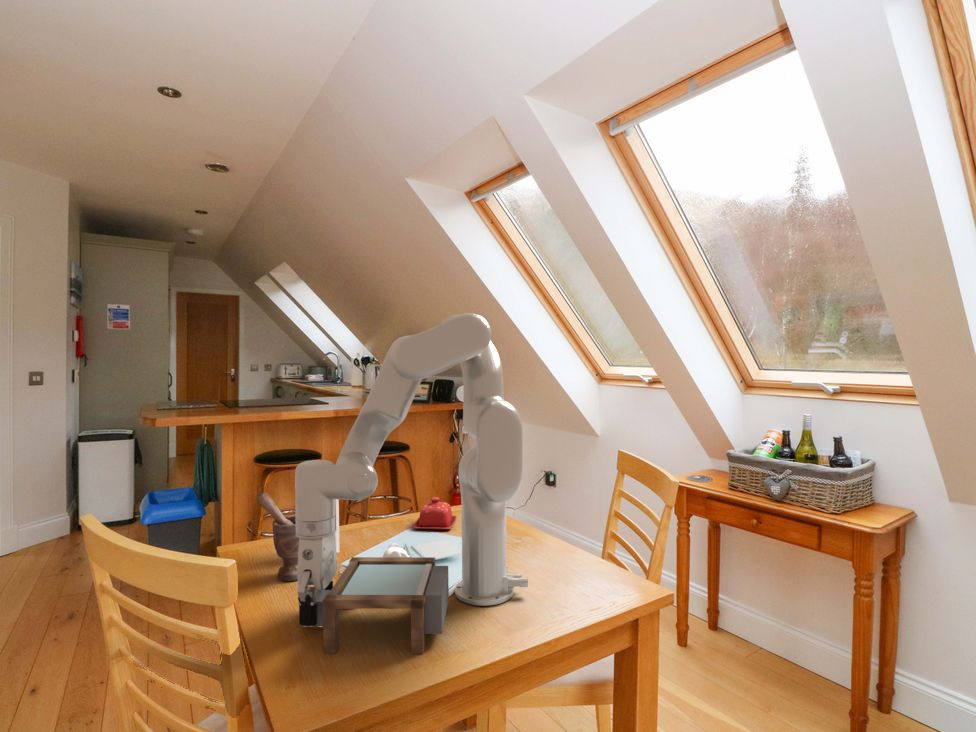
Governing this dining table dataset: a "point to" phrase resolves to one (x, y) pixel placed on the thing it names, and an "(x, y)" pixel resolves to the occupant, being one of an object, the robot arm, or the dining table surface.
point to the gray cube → (319, 605)
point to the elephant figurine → (395, 551)
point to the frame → (373, 602)
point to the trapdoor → (406, 587)
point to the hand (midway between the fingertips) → (317, 612)
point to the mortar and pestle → (283, 538)
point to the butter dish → (435, 516)
